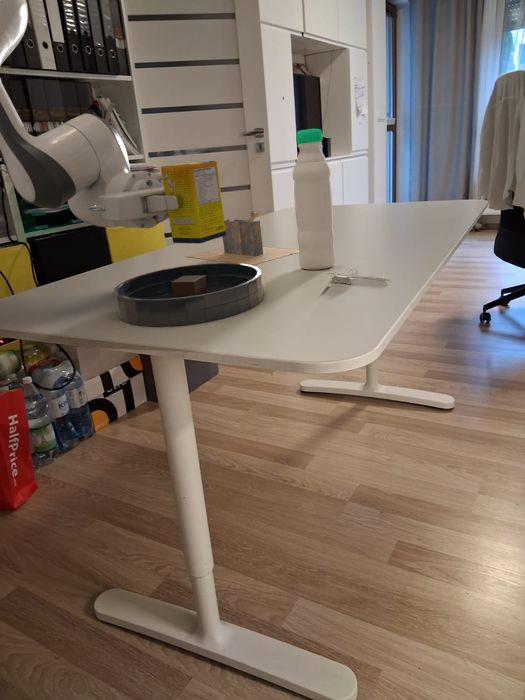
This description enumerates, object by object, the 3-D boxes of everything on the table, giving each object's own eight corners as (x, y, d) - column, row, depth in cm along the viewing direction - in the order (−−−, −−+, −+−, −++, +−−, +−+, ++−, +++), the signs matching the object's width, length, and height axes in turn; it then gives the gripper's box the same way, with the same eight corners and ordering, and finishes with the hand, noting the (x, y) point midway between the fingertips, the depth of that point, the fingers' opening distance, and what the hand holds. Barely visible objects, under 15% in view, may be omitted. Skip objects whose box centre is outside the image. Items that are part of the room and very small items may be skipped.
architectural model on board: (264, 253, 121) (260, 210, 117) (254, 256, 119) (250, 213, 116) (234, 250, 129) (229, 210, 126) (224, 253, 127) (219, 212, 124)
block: (197, 306, 82) (193, 281, 80) (175, 306, 83) (171, 282, 82) (208, 299, 85) (204, 275, 84) (186, 299, 87) (183, 275, 85)
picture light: (391, 281, 86) (391, 269, 86) (377, 287, 84) (377, 275, 83) (324, 274, 96) (323, 263, 95) (309, 280, 93) (308, 268, 92)
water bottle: (340, 262, 104) (333, 127, 95) (329, 270, 98) (321, 127, 89) (306, 262, 107) (297, 131, 98) (294, 270, 101) (283, 132, 92)
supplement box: (198, 235, 82) (187, 162, 78) (227, 236, 79) (218, 159, 75) (171, 243, 78) (159, 166, 74) (201, 244, 74) (190, 163, 70)
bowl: (187, 339, 69) (182, 307, 68) (90, 318, 84) (84, 291, 82) (292, 294, 85) (290, 267, 84) (195, 283, 100) (192, 260, 98)
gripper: (78, 187, 76) (136, 183, 67) (182, 173, 90) (241, 169, 81) (87, 231, 78) (145, 233, 69) (188, 210, 92) (246, 210, 84)
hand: (198, 198), depth 76 cm, fingers closed on supplement box, 6 cm apart
